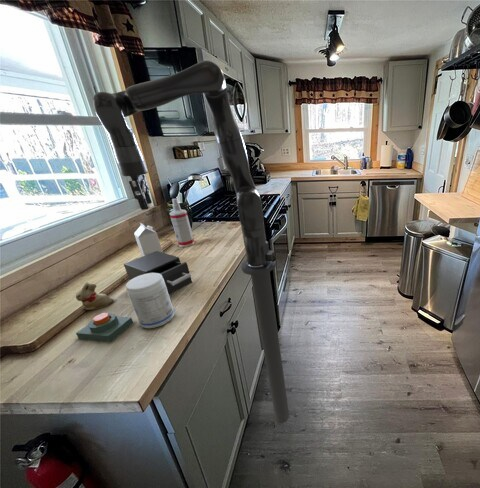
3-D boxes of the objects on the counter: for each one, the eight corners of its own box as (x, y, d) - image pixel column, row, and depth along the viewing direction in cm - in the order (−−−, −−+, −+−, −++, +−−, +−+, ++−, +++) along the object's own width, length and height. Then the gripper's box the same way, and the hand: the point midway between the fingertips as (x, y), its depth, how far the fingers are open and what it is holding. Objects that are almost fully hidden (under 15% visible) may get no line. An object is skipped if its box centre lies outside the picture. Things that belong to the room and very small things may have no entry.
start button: (113, 317, 79) (111, 313, 78) (102, 325, 75) (100, 321, 75) (103, 316, 79) (100, 312, 78) (91, 324, 76) (89, 320, 75)
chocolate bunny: (92, 301, 93) (81, 277, 89) (115, 300, 94) (105, 276, 90) (80, 311, 88) (67, 286, 84) (104, 309, 88) (93, 284, 84)
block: (133, 323, 82) (129, 312, 80) (111, 341, 74) (106, 330, 73) (103, 320, 83) (98, 310, 82) (78, 338, 76) (72, 328, 74)
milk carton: (148, 268, 116) (135, 228, 108) (144, 263, 120) (130, 224, 113) (166, 262, 120) (154, 223, 113) (161, 258, 125) (149, 220, 117)
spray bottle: (178, 248, 136) (164, 201, 126) (179, 243, 142) (166, 198, 132) (194, 245, 138) (182, 199, 128) (194, 240, 145) (183, 196, 135)
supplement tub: (139, 318, 83) (123, 279, 78) (171, 306, 89) (159, 268, 83) (143, 334, 77) (126, 293, 71) (178, 320, 82) (165, 280, 76)
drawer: (199, 284, 99) (194, 264, 96) (171, 300, 90) (164, 279, 87) (171, 275, 107) (165, 256, 104) (142, 288, 98) (135, 268, 95)
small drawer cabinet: (185, 280, 104) (179, 257, 100) (154, 297, 94) (145, 271, 90) (164, 273, 111) (156, 250, 107) (132, 287, 101) (123, 263, 97)
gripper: (139, 161, 83) (156, 209, 90) (146, 157, 95) (160, 200, 102) (111, 163, 80) (131, 213, 87) (122, 159, 92) (138, 203, 99)
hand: (147, 206), depth 95 cm, fingers open, 8 cm apart
